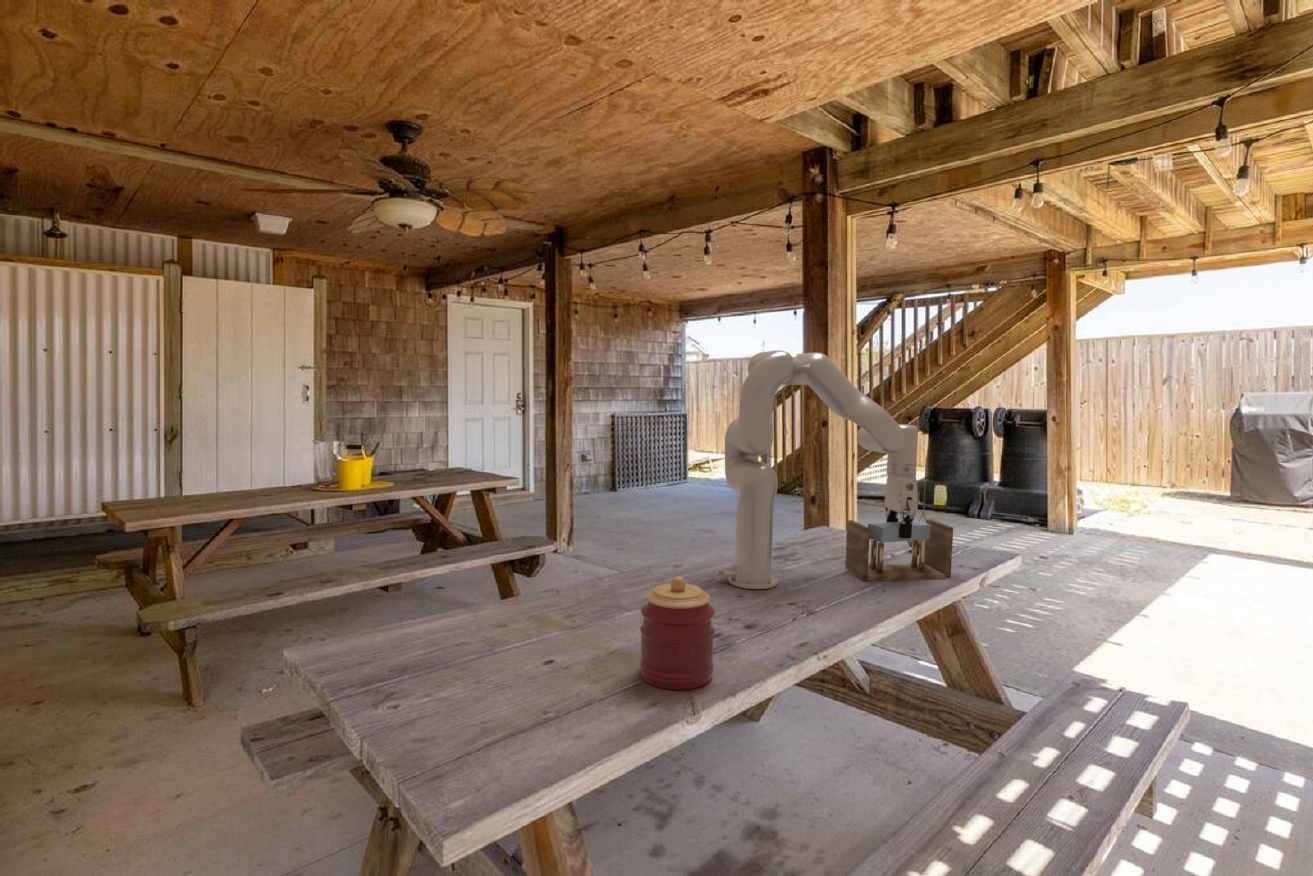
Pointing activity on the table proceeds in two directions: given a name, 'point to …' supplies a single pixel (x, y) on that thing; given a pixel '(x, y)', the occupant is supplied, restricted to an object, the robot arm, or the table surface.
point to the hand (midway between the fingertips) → (898, 534)
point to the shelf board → (897, 532)
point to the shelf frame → (935, 564)
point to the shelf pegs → (922, 550)
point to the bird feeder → (921, 515)
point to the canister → (677, 636)
